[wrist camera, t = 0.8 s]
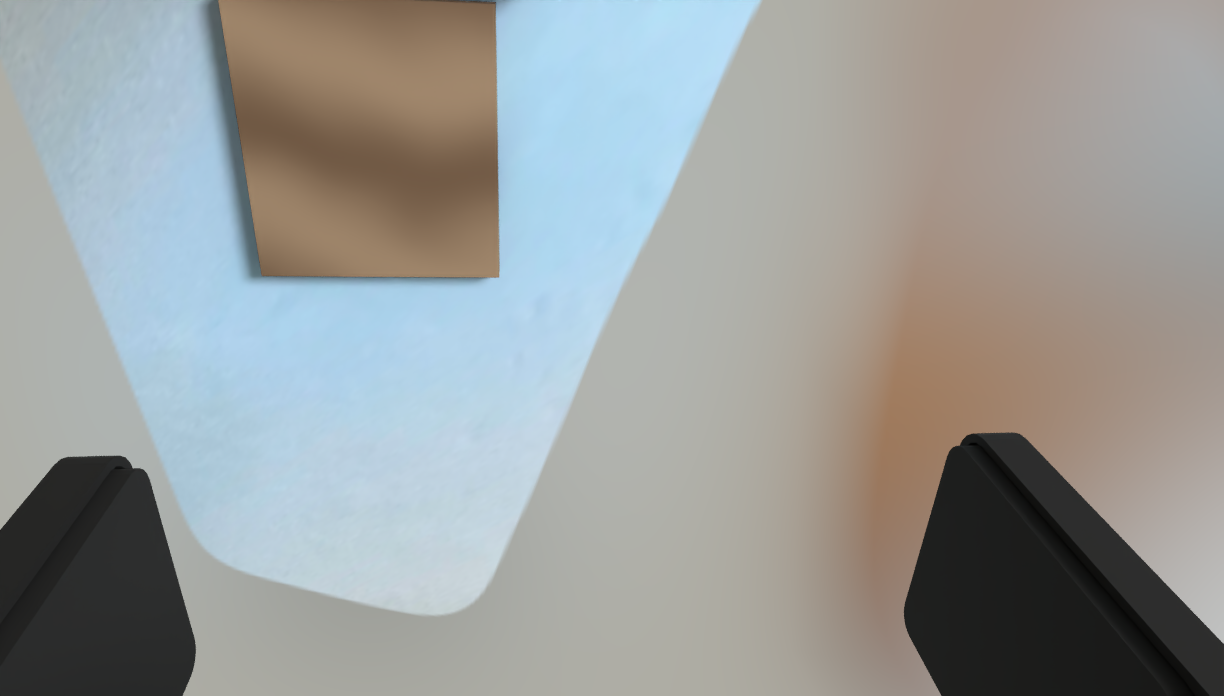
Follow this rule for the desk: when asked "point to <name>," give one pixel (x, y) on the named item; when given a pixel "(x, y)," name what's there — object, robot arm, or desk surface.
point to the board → (368, 134)
